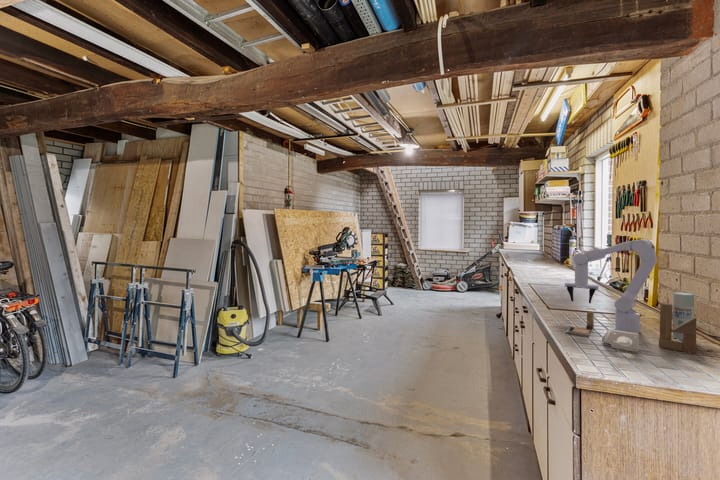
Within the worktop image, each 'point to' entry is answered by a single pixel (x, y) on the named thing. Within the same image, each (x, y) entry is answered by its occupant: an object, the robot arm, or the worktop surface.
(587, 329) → the frame
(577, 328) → the tile
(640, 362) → the worktop surface
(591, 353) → the worktop surface
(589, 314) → the two-tone stacked blocks
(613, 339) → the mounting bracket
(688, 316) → the spray paint can
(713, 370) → the worktop surface
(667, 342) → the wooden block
